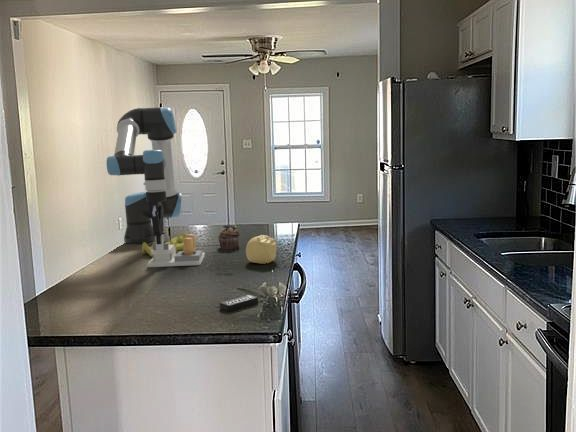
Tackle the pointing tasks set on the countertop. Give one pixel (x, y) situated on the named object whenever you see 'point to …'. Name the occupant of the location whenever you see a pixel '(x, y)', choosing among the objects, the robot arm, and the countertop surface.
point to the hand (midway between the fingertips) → (160, 251)
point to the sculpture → (261, 249)
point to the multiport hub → (238, 303)
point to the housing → (178, 257)
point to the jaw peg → (188, 246)
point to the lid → (167, 249)
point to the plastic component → (175, 241)
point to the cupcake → (229, 237)
